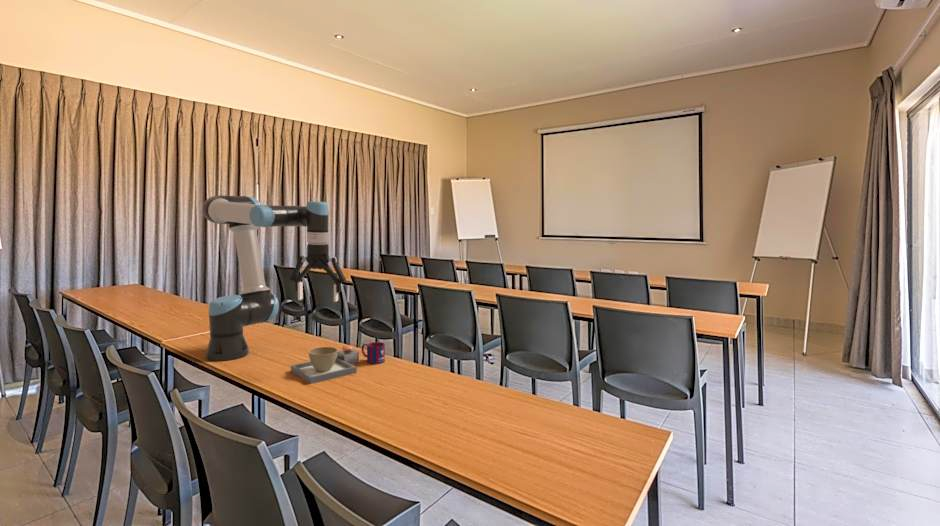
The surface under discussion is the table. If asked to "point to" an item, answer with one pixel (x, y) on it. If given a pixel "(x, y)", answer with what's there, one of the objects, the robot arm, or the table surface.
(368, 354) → the cup
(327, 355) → the flower pot
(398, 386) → the table surface
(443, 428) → the table surface
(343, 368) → the tray
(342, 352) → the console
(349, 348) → the button
